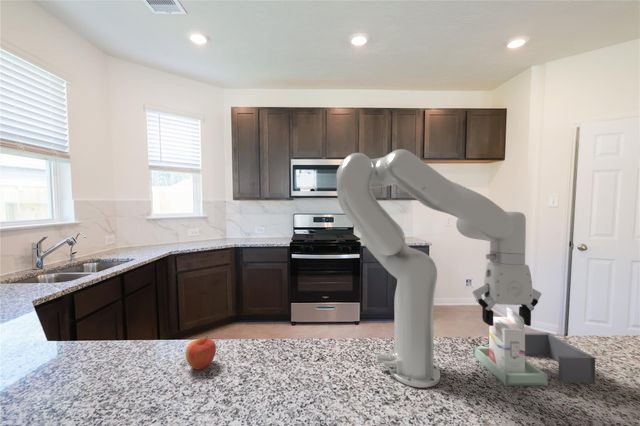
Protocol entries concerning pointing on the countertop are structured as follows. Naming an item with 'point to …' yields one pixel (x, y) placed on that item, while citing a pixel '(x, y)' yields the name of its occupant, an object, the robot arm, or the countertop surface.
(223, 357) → the countertop surface
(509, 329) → the ink cartridge box
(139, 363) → the countertop surface
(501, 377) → the tray
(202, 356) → the apple
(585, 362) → the bracket
